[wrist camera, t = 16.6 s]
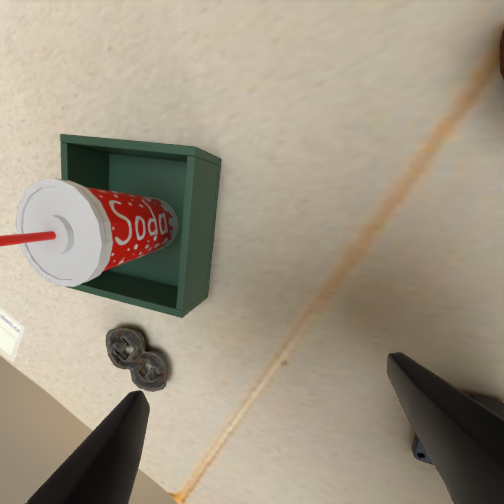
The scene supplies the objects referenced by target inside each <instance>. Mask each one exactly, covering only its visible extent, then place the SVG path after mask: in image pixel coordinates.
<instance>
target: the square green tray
mask: <svg viewBox="0 0 504 504" xmlns="http://www.w3.org/2000/svg"><path fill="white" fill-rule="evenodd" d="M60 141H61V142H62V143H61V174H62V180H64V181H69V180H70V181H72V182H74V183H77V184H79V185H81V186H84V187H87V188H94V189H101V190H108V191H115V192H121V193H128V194H135V195H142V196H148V197H155V198H159V199H162V200H164V201H166V202H167V203H168V204H169V205H170V206H171V207H172V208H173V209H174V211H175V213H176V215H177V217H178V226H179V229H178V233H177V236H176V238H175V240H174V241H173V242H172V243H171V245H169V246H167V247H165V248H163V249H160V250H158V251H155V252H152V253H150V254H147V255H145V256H142V257H139V258H137V259H134V260H132V261H129V262H126V263H124V264H121V265H119V266H116V267H113V268H111V269H108V270H105V271H103V272H102V273H101V274H100V275H99V276H97V277H95V278H94V279H92V280H90V281H88V282H84V283H82V284H80V285H78V286H75V287H68V286H65V287H68V288H72V289H75V290H79V291H83V292H87V293H91V294H94V295H98V296H102V297H106V298H109V299H113V300H117V301H121V302H124V303H128V304H132V305H136V306H139V307H143V308H147V309H151V310H155V311H158V312H162V313H166V314H170V315H173V316H177V317H181V318H183V317H184V316H185V315H186V314H188V313H189V312H190V311H191V310H192V309H194V308H195V307H196V306H197V305H199V304H200V303H201V302H202V301H203V300H205V299H206V298H207V297H208V287H209V277H210V267H211V257H212V247H213V237H214V227H215V217H216V207H217V197H218V187H219V177H220V167H221V159H220V158H218V157H216V156H214V155H212V154H210V153H208V152H206V151H204V150H202V149H199V148H197V147H195V146H184V145H174V144H163V143H152V142H141V141H131V140H120V139H109V138H99V137H88V136H77V135H67V134H60Z"/></svg>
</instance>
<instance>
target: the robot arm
mask: <svg viewBox="0 0 504 504" xmlns="http://www.w3.org/2000/svg"><path fill="white" fill-rule="evenodd" d="M387 373H388V377H389V379H390V381H391V383H392V385H393V387H394V390H395V392H396V394H397V396H398V398H399V400H400V403H401V405H402V407H403V409H404V411H405V413H406V415H407V418H408V420H409V422H410V424H411V425H412V427H413V429H414V431H415V433H416V434H417V435H416V438H415V441H414V444H413V447H412V451H413V454H414V456H415V458H416V459H418V460H420V461H423V462H426V463H429V464H432V465H435V467H436V469H437V470H438V472H439V474H440V475H441V477H442V479H443V481H444V482H445V485H446V487H447V489H448V491H449V493H450V496H451V498H452V500H453V502H454V504H504V403H502V402H498V401H495V400H491V399H487V398H483V397H480V396H476V395H472V394H470V395H467V394H464V393H463V392H461V391H460V390H458V389H457V388H455V387H454V386H452V385H451V384H449V383H448V382H446V381H445V380H443V379H441V378H440V377H438V376H437V375H435V374H434V373H432V372H431V371H429V370H428V369H426V368H425V367H423V366H422V365H420V364H418V363H417V362H415V361H414V360H412V359H411V358H409V357H408V356H406V355H405V354H403V353H401V352H395V353H390V354H388V360H387ZM149 412H150V407H149V403H148V401H147V399H146V397H145V395H144V393H143V392H142V391H140V390H139V391H133V392H130V393H129V394H127V396H126V397H125V398H124V399H123V400H122V401H121V402H120V403H119V404H118V405H117V406H116V407H115V408H114V409H113V410H112V412H111V413H110V414H109V415H108V416H107V417H106V418H105V419H104V420H103V421H102V422H101V423H100V424H99V425H98V426H97V427H96V429H95V430H94V431H93V432H92V433H91V434H90V435H89V436H88V437H87V438H86V439H85V440H84V441H83V442H82V443H81V445H80V446H79V447H78V448H77V449H76V450H75V451H74V452H73V453H72V454H71V455H70V456H69V458H67V459H66V461H65V462H64V463H63V464H62V465H61V466H60V467H59V468H58V469H57V470H56V471H55V472H54V473H53V474H52V475H51V477H50V478H49V479H48V480H47V481H46V482H45V483H44V484H43V485H42V486H41V487H40V488H39V489H38V490H37V492H35V494H34V495H33V496H32V497H31V498H30V499H29V500H28V502H27V503H25V504H128V502H129V499H130V495H131V492H132V488H133V484H134V481H135V477H136V474H137V470H138V467H139V463H140V459H141V454H142V449H143V444H144V439H145V433H146V428H147V422H148V417H149ZM419 452H421V453H419Z"/></svg>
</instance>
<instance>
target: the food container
mask: <svg viewBox="0 0 504 504" xmlns="http://www.w3.org/2000/svg"><path fill="white" fill-rule="evenodd" d="M500 60H501V73H502V76H503V78H504V32H503V35H502V39H501V43H500Z"/></svg>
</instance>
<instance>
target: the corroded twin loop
mask: <svg viewBox="0 0 504 504" xmlns="http://www.w3.org/2000/svg"><path fill="white" fill-rule="evenodd" d="M127 342H128V343H129V344H130V345H131V346H132V347H133V348H134V350H133V352H132V353H131V354H130V355H129V357H128V356H127V355H126V354H125V353H124V352H123V351H124V350H125V349H126V346H127V345H126V343H127ZM106 346H107V351H108V356H109V357H110V359H111V361H112V363H113V364H114V365H115V366H116V367H118V368H122V369H129V370H130V372H131V377H132V381H133V382H134V384H135V385H136V386H137V387H138V388H140V389H144V390H146V391H152V392H154V391H158V390H161V389H164V387H165V386H166V381H167V367H166V364H165V360H164V357H163V356H162V355H161V354H160V353H156V352H155V351H148V352H146V351H145V347H146V345H145V341H144V339H143V335H142V334H141V333H140V332H139V331H138V330H135V329H128V328H127V329H126V328H115V329H112V330H109V332H108V333H107V335H106ZM145 363H149V364H150V365H151V366H152V367H153V368H154V369H153V368H152V367H151V369H150V370H149V371H148V373H147V374H144V373H143V372H142V371H141V369H142V367H143V366H144V364H145Z"/></svg>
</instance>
